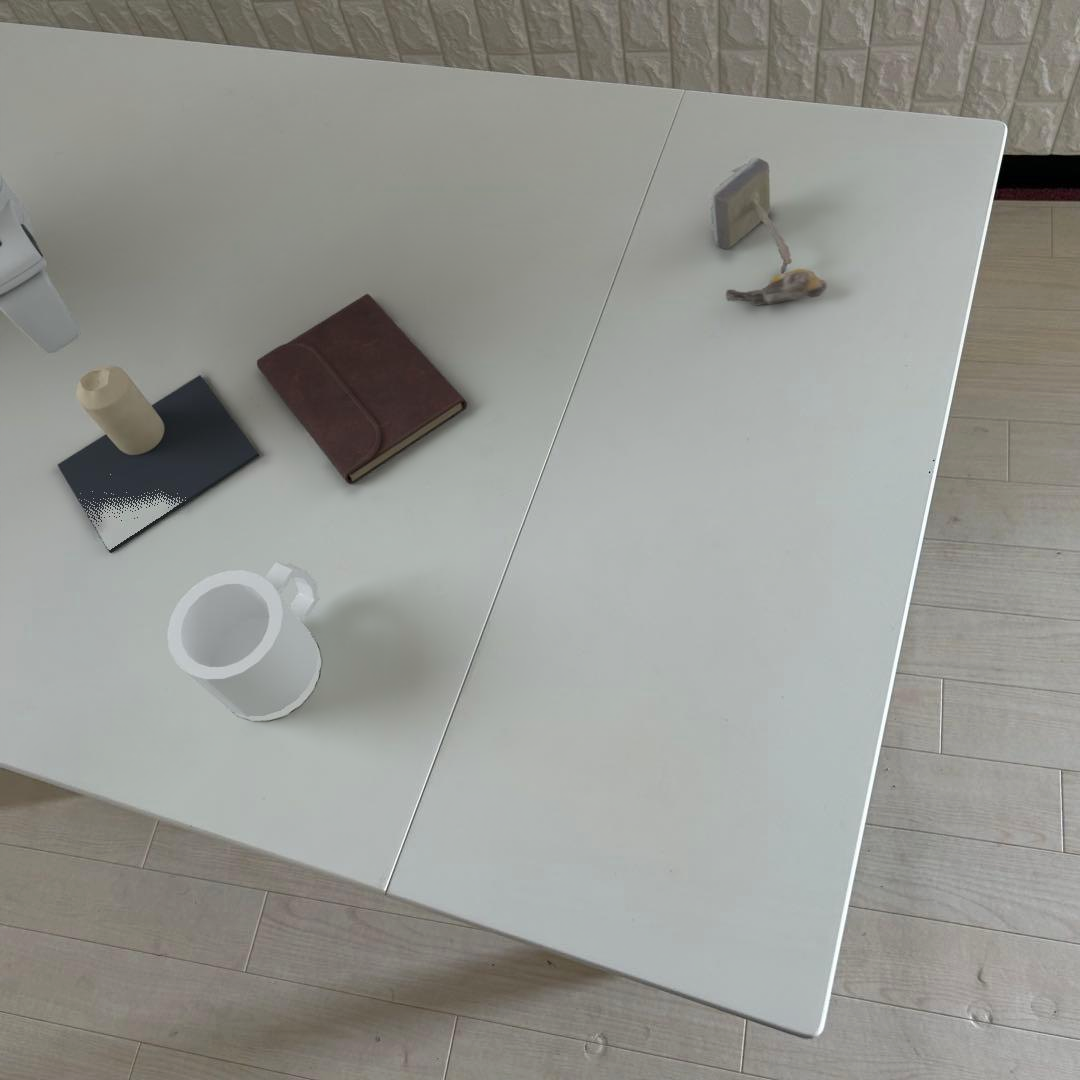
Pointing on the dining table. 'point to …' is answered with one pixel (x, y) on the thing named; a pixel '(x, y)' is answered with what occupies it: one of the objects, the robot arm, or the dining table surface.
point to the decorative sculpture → (738, 213)
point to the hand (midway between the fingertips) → (56, 322)
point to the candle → (120, 409)
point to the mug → (247, 638)
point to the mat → (163, 457)
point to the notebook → (360, 387)
